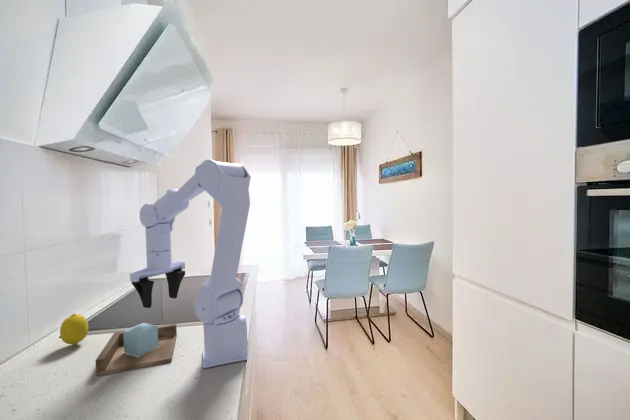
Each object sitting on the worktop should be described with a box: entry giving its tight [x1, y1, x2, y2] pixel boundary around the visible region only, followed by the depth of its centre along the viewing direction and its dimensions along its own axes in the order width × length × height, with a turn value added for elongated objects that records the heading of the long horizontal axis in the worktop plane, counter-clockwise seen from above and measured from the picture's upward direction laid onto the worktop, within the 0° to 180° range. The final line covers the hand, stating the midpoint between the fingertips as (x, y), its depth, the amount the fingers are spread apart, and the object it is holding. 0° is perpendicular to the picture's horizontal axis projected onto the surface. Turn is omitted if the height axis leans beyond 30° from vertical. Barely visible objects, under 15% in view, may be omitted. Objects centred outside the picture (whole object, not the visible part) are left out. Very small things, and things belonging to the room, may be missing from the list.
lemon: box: [59, 313, 89, 346], centre depth 75 cm, size 6×6×8 cm
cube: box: [122, 322, 159, 357], centre depth 70 cm, size 5×5×5 cm
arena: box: [95, 323, 178, 377], centre depth 70 cm, size 14×14×3 cm
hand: (160, 302), depth 78 cm, fingers open, 7 cm apart
